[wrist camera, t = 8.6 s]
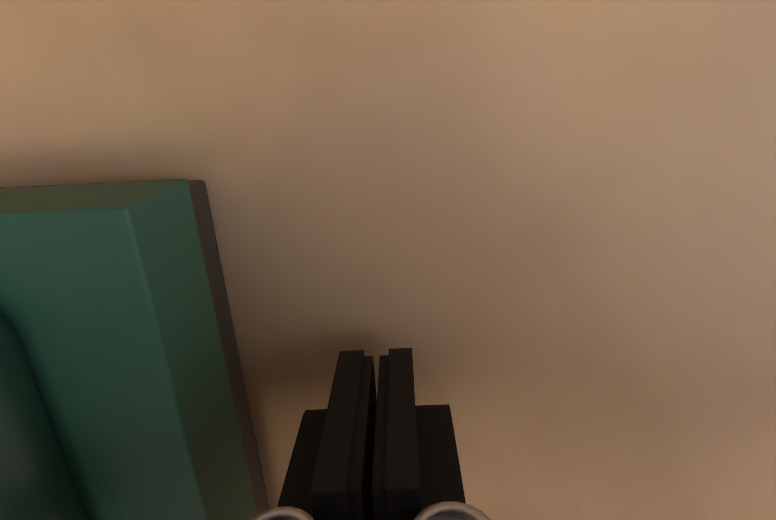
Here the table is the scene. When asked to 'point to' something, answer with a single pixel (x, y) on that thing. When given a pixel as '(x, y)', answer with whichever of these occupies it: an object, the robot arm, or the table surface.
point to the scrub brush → (119, 359)
